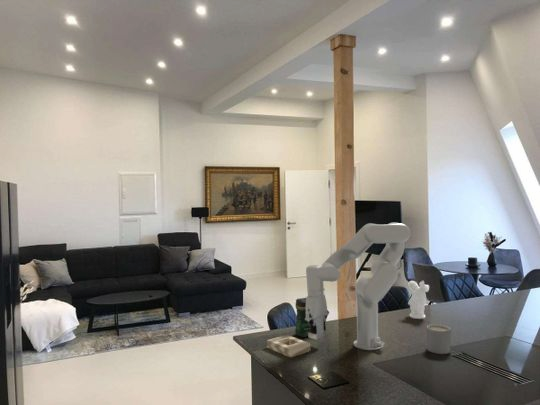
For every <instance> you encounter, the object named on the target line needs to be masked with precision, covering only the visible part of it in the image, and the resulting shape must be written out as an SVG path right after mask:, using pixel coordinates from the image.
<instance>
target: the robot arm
mask: <svg viewBox="0 0 540 405" xmlns="http://www.w3.org/2000/svg"><path fill="white" fill-rule="evenodd" d="M410 238H411V229H410V227H409V226H408V225H406V224H404V223H401V222H400V223H399V222H390V223H388V224H377V223H371V222H370V223H366V224H365V225H363V226H362V227H361V228H360V229H359V230H358V231H357V232H356V233H355V234H354V235H353V236H352V237H351V238H350V239H349V240H348V241H347V242H346V243H345V244H344V245H342V246H341V247H340V248H339V249H337V250H336V251H334V252H333V253H331V254H330V256H329V257H327V259H326V260H325V261H324V262H323V263H322V264H321V265H318V264H314V265H313V264H311V265H307V267H306V268H305V269H306V270H305V275H306V288H307V296H306V297H305V298H306V318H305V320H306V321H307V322H308V323H309V324H310V325H311V333H313V334H317V327H316V325H315V323H316V319H317V318H320V317H323V321H324V332H325V331H327V328H326V327H327V326H326V322H327V318H328V316H329V315H330V311H329V310H328V304H327V298H326V295H325V287H324V286H325V285H324V282H336V281H338V280H339V279H340V278H341V275H342V273H341V270H340V269H341V268H342V267H343V266H344V265H346V264H347V263H348V262H351V261H352V260H356V259H358V258H360V257H361V256H362V255H363V254H364V253H365V252H366V251H367V250H368V249H369V248H370V247H371V246H372V245H373V244H385V247H384V248H383V249H382V251H381V253H379V255H378V257H377V258H376V259H375V260H374V262H373V263H372V265H371V267H370V272H371V274H372V276H371V277H368V276H364V277H360V278H359V279H358V280H357V282H356V284H355V299H356V340H354V341H353V346H354V347H355V348H357V349H360V350H362V351H363V350H364V351H377V350H380V349H381V348H384V346H385V342H384V341H381V337H379V302H380V301H382V300H383V299H384V297H385V296H386V295H387V293H388V292H389V291H390V289H391V287H393V285H394V284H395V283H396V281H397V278H398V276H399V269H398V267H397V265H398V263H399V261H400V260H401V259H402V256H403V255H404V252H405V242H407V241H408V240H409V239H410ZM309 318H310V319H309ZM312 319H313V322H312Z"/></svg>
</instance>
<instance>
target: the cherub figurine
mask: <svg viewBox="0 0 540 405" xmlns="http://www.w3.org/2000/svg"><path fill="white" fill-rule="evenodd" d="M407 287H408V289H409V290H410V291H411V292H410V293H411V297H410V298H409V301H408V303H407V305H409V307H410V314H409V317H410V318H411V319H418V320H422V319H423V320H424V319H426V314H425V307H426V306H425V305H426V304H427V303H428V298H427V294H426V293H428V292H429V290H430V285H429V284H425V281H424V280H421V281H420V282H419V283H417V281H415V280H410V281H408V283H407Z"/></svg>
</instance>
